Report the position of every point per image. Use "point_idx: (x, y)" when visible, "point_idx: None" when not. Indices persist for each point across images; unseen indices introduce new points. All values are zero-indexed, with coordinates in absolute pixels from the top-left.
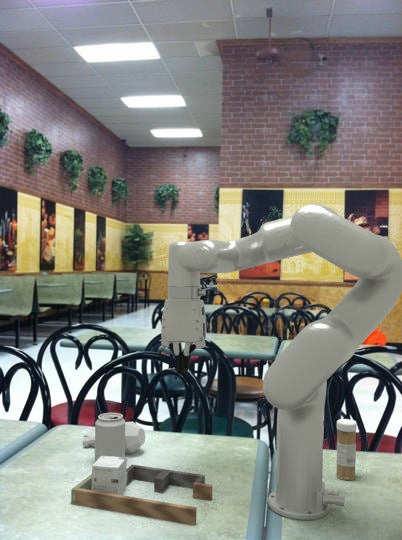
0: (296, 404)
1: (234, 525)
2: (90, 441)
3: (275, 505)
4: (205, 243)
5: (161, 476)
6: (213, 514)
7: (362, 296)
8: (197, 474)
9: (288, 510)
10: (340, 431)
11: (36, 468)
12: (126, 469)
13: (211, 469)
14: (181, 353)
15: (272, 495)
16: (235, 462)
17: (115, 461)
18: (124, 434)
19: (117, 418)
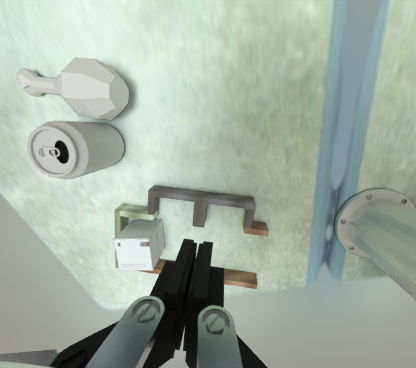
0: None
1: (293, 271)
2: (39, 92)
3: (344, 242)
4: None
5: (199, 219)
6: (270, 255)
7: None
8: (244, 204)
9: (358, 251)
10: None
11: (32, 184)
12: (148, 207)
13: (254, 133)
14: (171, 343)
15: (343, 218)
16: (290, 94)
17: (141, 256)
18: (101, 148)
19: (71, 165)
